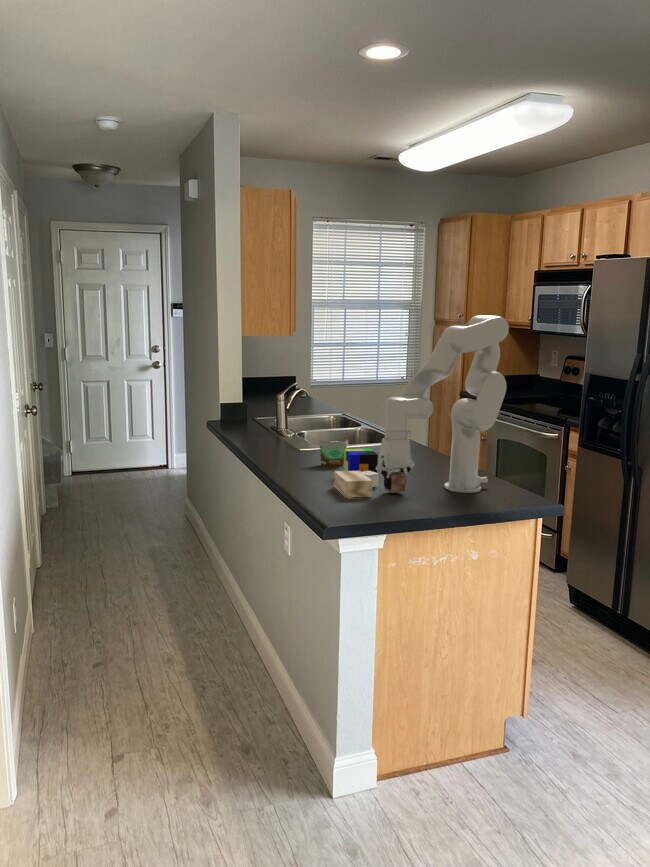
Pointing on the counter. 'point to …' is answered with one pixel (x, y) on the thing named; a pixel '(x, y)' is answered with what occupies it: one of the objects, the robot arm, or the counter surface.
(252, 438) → the counter surface
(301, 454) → the counter surface
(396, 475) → the walnut block
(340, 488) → the maple block
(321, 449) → the food container
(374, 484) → the offwhite cube
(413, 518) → the counter surface
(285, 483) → the counter surface
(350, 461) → the puzzle toy
